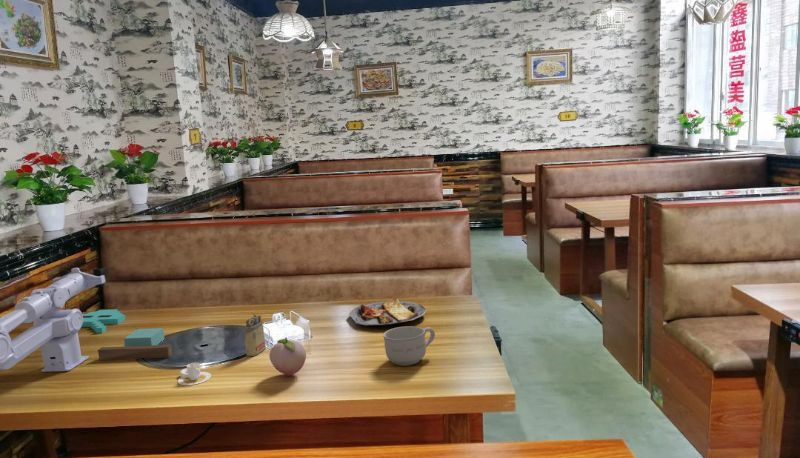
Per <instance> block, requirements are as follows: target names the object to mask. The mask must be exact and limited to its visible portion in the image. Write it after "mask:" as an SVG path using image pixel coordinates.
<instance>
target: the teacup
mask: <svg viewBox="0 0 800 458" xmlns="http://www.w3.org/2000/svg"><path fill="white" fill-rule="evenodd" d="M428 332H429V337H428V339H426V334H427V333H428ZM382 335H383V340H384V342H383V343H384V350H385V355H386V357H387V359H388V360H389V361H390V362H392V363H393V364H395V365H397V366H403V367H404V366H411V365H415V364H418V363H419V362H420V361H421V360H422V359H423V358H424V356H425V354H426V352H427V348H428V346H429V345H430V344H431V343H433V341H434V339H435V337H436V332H435V330H434V329H433V328H432V327H429V326H428V327H424V328H423V327H419V326H412V325H411V326H410V325H409V326H407V325H405V326H399V327H394V328H391V329H388V330H386V331H385V332H384V333H383V334H382Z"/></svg>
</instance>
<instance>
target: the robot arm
mask: <svg viewBox="0 0 800 458" xmlns="http://www.w3.org/2000/svg"><path fill="white" fill-rule="evenodd" d="M92 273H93V274H90V273H87V272H84V268H79V267H73V268H71V270H68V269H67V270H61V271H60V272H59V277H55V278H53V279H52V284H50V285H49V286H47V287H45V288H35V289H33V290H32V291H31V292H30V295H29V296H25V297H23V298H22V299H21V300H22V301H19V302H18V303H16V304H15V305H14V308H13V310H12V311H11V312H8V313H6V314H4V315H3V316H1V317H0V371H1V370H4V371H5V370H7V371H8V370H9V369H11V368H12V367H14V366H15V365H17V364H18V363H19V362H21V361H23V360H24V359H25V358H27V357H28V356H29V355H31V354H32V353H34V352H35V351H37V350H38V349H39V348H40V349H41V351H40V352H41V358H42V363H43V369H41V370H40V371H41V372H42V373H44V372H50V373H51V372H70V371H71V370H73V369H74V368H76V367H77V366H79V365H80V364H81V363H84V361H86V360H87V359H89V357H90V356H89V355H82V351H81V345H80V339H79V334H78V333H79V331H80V330H81V328H82V327H81V326H82V324H83V315H82V314H83V313H82V311H81V310H80V308H73V309H64V306H65V304H66V302H67V301H69V300H70V299H71V298H73V297H74V296H77V294H79V293H81V292H83V291H86V290H88V289H90V288H91V289H92V288H93V287H94V288H96V289H99V288H102V287H104V286H105V283H106V282H107V281H106V278H107V276H108V275H109V268H108V267H102V268H93V269H92ZM62 308H63V309H62ZM32 322H33V325H32V326H31V327H29V328H27V329H26V330H24V331H23V332H21V333H20V334H18V335H17V336H15V337H13V338H11V337H10V336H11V335H10V333H11V332H12V331H13V330H15V329H16V328H18V327H19V326H21V325H22V324H29V323H31V324H32Z"/></svg>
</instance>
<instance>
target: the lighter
mask: <svg viewBox="0 0 800 458" xmlns="http://www.w3.org/2000/svg"><path fill="white" fill-rule="evenodd" d="M252 315H253V317H251V318H248V319H245V323H246V324H245V326H244V327H243V335H244V345H245V356H246V357H254V356H255V357H256V356H257V355H259V354H261V352H263V351H265V350H266V349H267V348H266V340H265V332H264V331H265V330H264V324H263V320H262V316H261V315H258V316H257V314H252Z"/></svg>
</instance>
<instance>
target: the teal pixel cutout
mask: <svg viewBox="0 0 800 458" xmlns="http://www.w3.org/2000/svg"><path fill="white" fill-rule="evenodd" d="M82 315H83V324H82V326H81V328H91V330H93V332H95V334H103V332H104V333H106V332H107V326H106V325H119V324H121V323H122V322H124V321H126V315H125V314H123V312H121V311H119V310H118V309H117V308H115V309H98V310H96V311H90V312H87V313H82Z"/></svg>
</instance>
